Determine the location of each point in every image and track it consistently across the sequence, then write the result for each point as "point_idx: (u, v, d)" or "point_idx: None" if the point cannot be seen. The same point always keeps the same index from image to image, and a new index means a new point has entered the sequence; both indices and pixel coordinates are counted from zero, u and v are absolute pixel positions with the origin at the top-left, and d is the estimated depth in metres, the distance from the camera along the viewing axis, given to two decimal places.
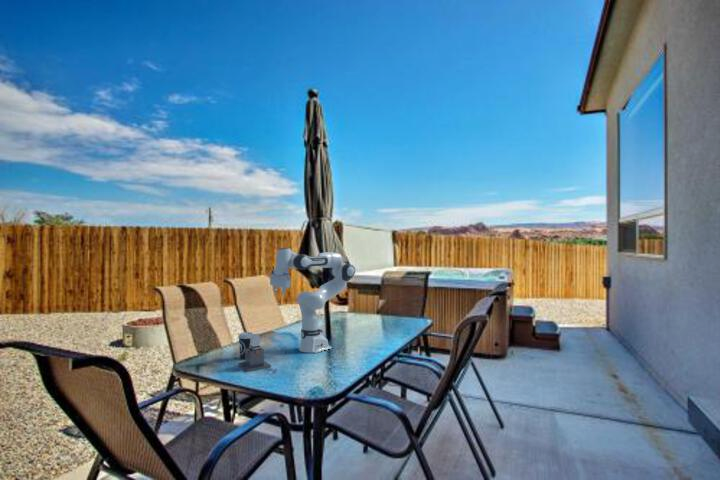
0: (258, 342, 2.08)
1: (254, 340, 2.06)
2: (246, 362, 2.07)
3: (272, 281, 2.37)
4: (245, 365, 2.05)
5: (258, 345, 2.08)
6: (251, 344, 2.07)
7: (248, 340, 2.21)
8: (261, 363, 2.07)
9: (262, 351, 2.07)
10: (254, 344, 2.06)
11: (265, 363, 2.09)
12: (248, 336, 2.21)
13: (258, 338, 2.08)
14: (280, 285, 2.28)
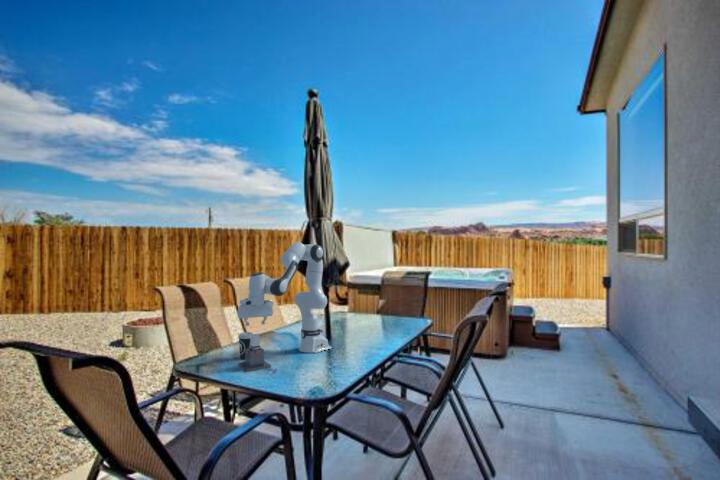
0: (258, 342, 2.08)
1: (254, 340, 2.06)
2: (246, 362, 2.07)
3: (245, 313, 2.03)
4: (245, 365, 2.05)
5: (258, 345, 2.08)
6: (251, 344, 2.07)
7: (248, 340, 2.21)
8: (261, 363, 2.07)
9: (262, 351, 2.07)
10: (254, 344, 2.06)
11: (265, 363, 2.09)
12: (248, 336, 2.21)
13: (258, 338, 2.08)
14: (263, 314, 2.10)
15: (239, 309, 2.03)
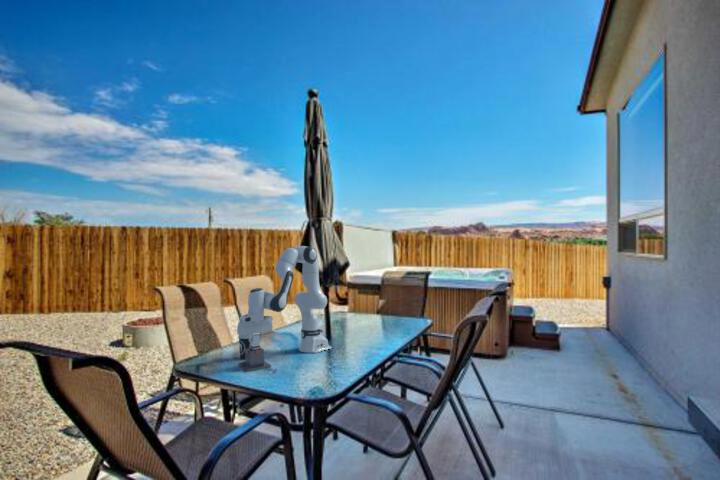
0: (258, 342, 2.08)
1: (254, 340, 2.06)
2: (246, 362, 2.07)
3: (244, 330, 2.03)
4: (245, 365, 2.05)
5: (258, 345, 2.08)
6: (251, 344, 2.07)
7: (248, 340, 2.21)
8: (261, 363, 2.07)
9: (262, 351, 2.07)
10: (254, 344, 2.06)
11: (265, 363, 2.09)
12: None
13: (258, 338, 2.08)
14: (263, 330, 2.10)
15: (238, 326, 2.03)
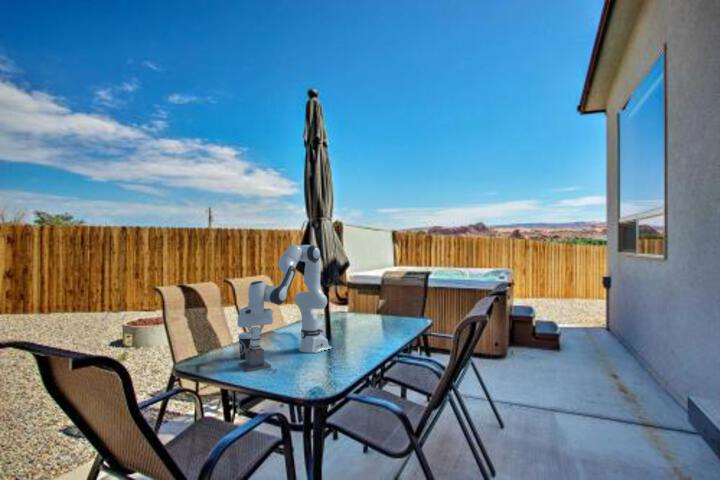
0: (258, 334, 2.08)
1: (254, 333, 2.07)
2: (246, 362, 2.07)
3: (244, 322, 2.03)
4: (245, 365, 2.05)
5: (258, 338, 2.08)
6: (251, 337, 2.08)
7: (248, 340, 2.21)
8: (261, 363, 2.07)
9: (262, 351, 2.07)
10: (254, 337, 2.07)
11: (265, 363, 2.09)
12: (248, 336, 2.21)
13: (258, 331, 2.08)
14: (263, 323, 2.10)
15: (239, 318, 2.03)
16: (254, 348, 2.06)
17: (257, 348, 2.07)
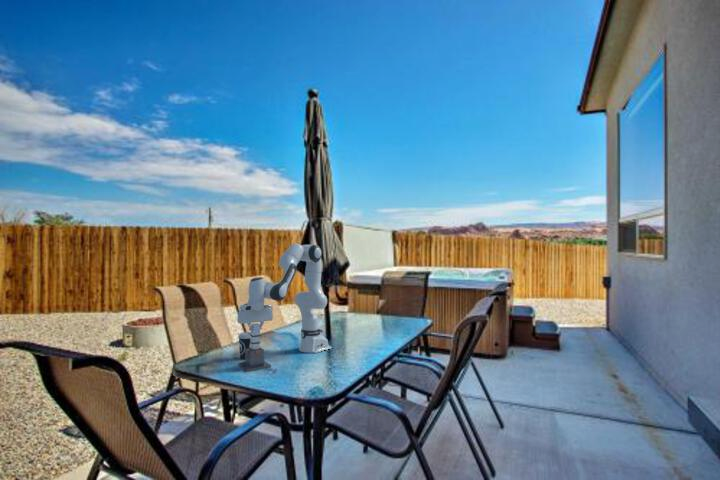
0: (258, 331, 2.08)
1: (254, 329, 2.07)
2: (246, 362, 2.07)
3: (245, 318, 2.03)
4: (245, 365, 2.05)
5: (258, 334, 2.08)
6: (251, 333, 2.08)
7: (248, 340, 2.21)
8: (261, 363, 2.07)
9: (262, 351, 2.07)
10: (254, 333, 2.07)
11: (265, 363, 2.09)
12: (248, 336, 2.21)
13: (258, 327, 2.08)
14: (263, 319, 2.10)
15: (239, 314, 2.03)
16: (254, 344, 2.06)
17: (257, 344, 2.08)
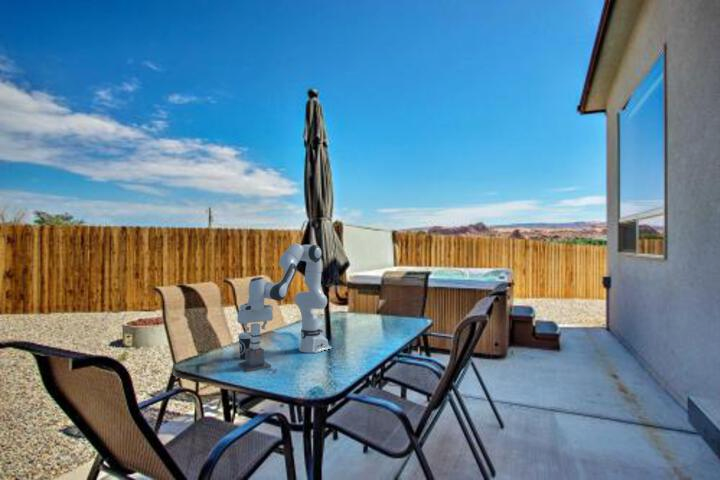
0: (258, 331, 2.08)
1: (254, 329, 2.07)
2: (246, 362, 2.07)
3: (245, 318, 2.03)
4: (245, 365, 2.05)
5: (258, 334, 2.08)
6: (251, 333, 2.08)
7: (248, 340, 2.21)
8: (261, 363, 2.07)
9: (262, 351, 2.07)
10: (254, 333, 2.07)
11: (265, 363, 2.09)
12: (248, 336, 2.21)
13: (258, 327, 2.08)
14: (263, 319, 2.10)
15: (239, 314, 2.03)
16: (254, 344, 2.06)
17: (257, 344, 2.08)
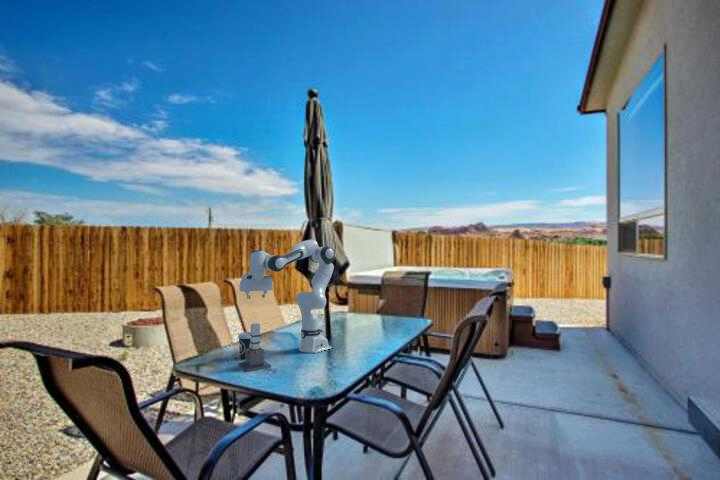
0: (258, 331, 2.08)
1: (254, 329, 2.07)
2: (246, 362, 2.07)
3: (246, 287, 2.19)
4: (245, 365, 2.05)
5: (258, 334, 2.08)
6: (251, 333, 2.08)
7: (248, 340, 2.21)
8: (261, 363, 2.07)
9: (262, 351, 2.07)
10: (254, 333, 2.07)
11: (265, 363, 2.09)
12: (248, 336, 2.21)
13: (258, 327, 2.08)
14: (263, 288, 2.26)
15: (241, 283, 2.19)
16: (254, 344, 2.06)
17: (257, 344, 2.08)
